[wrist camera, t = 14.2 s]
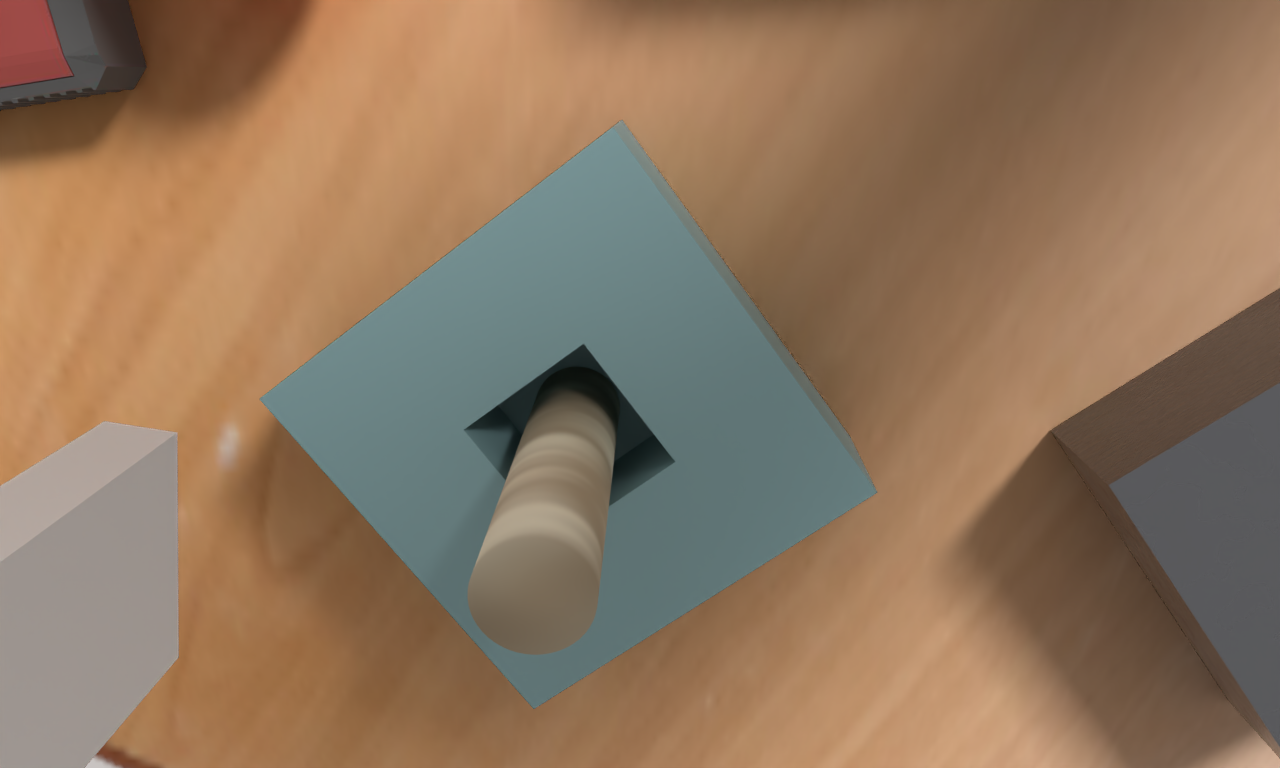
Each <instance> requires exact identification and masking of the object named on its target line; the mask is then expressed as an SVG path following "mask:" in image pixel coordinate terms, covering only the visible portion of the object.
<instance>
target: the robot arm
mask: <svg viewBox="0 0 1280 768" xmlns="http://www.w3.org/2000/svg"><path fill="white" fill-rule="evenodd" d="M178 657H179V633H178V458H177V432H171V431H165V430H158V429H152V428H145V427H139V426H132V425H126V424H120V423H113V422H107V421H104V422H102V423H101V424H99V425H97V426H96V427H94V428H93V429H91V430H89V431H88V432H86V433H85V434H83V435H81V436H80V437H78V438H77V439H75V440H73V441H72V442H70V443H69V444H67V445H65V446H64V447H62V448H60V449H59V450H57V451H56V452H54V453H52V454H51V455H49V456H48V457H46V458H44V459H43V460H41V461H40V462H38V463H36V464H35V465H33V466H32V467H30V468H28V469H27V470H25V471H24V472H22V473H20V474H19V475H17V476H16V477H14V478H12V479H11V480H9V481H7V482H6V483H4V484H3V485H1V486H0V768H85V767H86V765H87V764H88V763H89V762H90V760H91V759H92V758H93V757H94V756H95V755H96V754H97V753H98V751H99V750H100V749H101V748H102V747H103V746H104V744H105V743H106V742H107V741H108V740H109V739H110V737H111V736H112V735H113V734H114V733H115V731H116V730H117V729H118V728H119V727H120V726H121V724H122V723H123V722H124V721H125V720H126V719H127V717H128V716H129V715H130V714H131V713H132V712H133V710H134V709H135V708H136V707H137V706H138V704H139V703H140V702H141V701H142V700H143V699H144V697H145V696H146V695H147V694H148V693H149V692H150V690H151V689H152V688H153V687H154V686H155V685H156V683H157V682H158V681H159V680H160V679H161V677H162V676H163V675H164V674H165V673H166V672H167V670H168V669H169V668H170V667H171V666H172V665H173V663H174V662H175V661H176V660H177V659H178Z"/></svg>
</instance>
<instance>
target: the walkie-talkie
mask: <svg viewBox="0 0 1280 768" xmlns="http://www.w3.org/2000/svg"><path fill="white" fill-rule="evenodd" d="M146 68H147V66H146V63H145V59H144V56H143V52H142V48H141V45H140V41H139V38H138V34H137V31H136V27H135V24H134V20H133V17H132V13H131V10H130V6H129V2H128V0H0V111H1V109H14V108H16V107H26V106H31V105H32V104H45V103H46V102H57V101H61V100H64V99H76V97H88V96H91V95H97V94H106V92H119V91H121V90H132V89H134V88H135V86H136V84H137V83H138V81H139V79H140V78H141V76H142V74H143V73H144V71H145V69H146ZM19 97H20V98H19Z"/></svg>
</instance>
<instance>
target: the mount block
mask: <svg viewBox="0 0 1280 768" xmlns="http://www.w3.org/2000/svg"><path fill="white" fill-rule="evenodd" d="M1051 432H1052V433H1053V435H1054V436H1055V438H1056V439H1057V441H1058V443H1059V444H1060V446H1061V447H1062V449H1063V450H1064V452H1065V453H1066V455H1067V456H1068V458H1069V459H1070V461H1071V462H1072V464H1073V465H1074V467H1075V468H1076V470H1077V471H1078V473H1079V474H1080V476H1081V477H1082V479H1083V480H1084V482H1085V484H1086V485H1087V487H1088V488H1089V490H1090V491H1091V493H1092V494H1093V496H1094V497H1095V499H1096V500H1097V502H1098V503H1099V505H1100V506H1101V508H1102V509H1103V511H1104V512H1105V514H1106V515H1107V517H1108V518H1109V520H1110V521H1111V523H1112V525H1113V526H1114V528H1115V529H1116V531H1117V532H1118V534H1119V535H1120V537H1121V538H1122V540H1123V541H1124V543H1125V544H1126V546H1127V547H1128V549H1129V550H1130V552H1131V553H1132V555H1133V556H1134V558H1135V559H1136V561H1137V562H1138V564H1139V565H1140V567H1141V569H1142V570H1143V572H1144V573H1145V575H1146V576H1147V578H1148V579H1149V581H1150V582H1151V584H1152V585H1153V587H1154V588H1155V590H1156V591H1157V593H1158V594H1159V596H1160V597H1161V599H1162V600H1163V602H1164V603H1165V605H1166V606H1167V608H1168V610H1169V611H1170V613H1171V614H1172V616H1173V617H1174V619H1175V620H1176V622H1177V623H1178V625H1179V626H1180V628H1181V629H1182V631H1183V632H1184V634H1185V635H1186V637H1187V638H1188V640H1189V641H1190V643H1191V644H1192V646H1193V647H1194V649H1195V651H1196V652H1197V654H1198V655H1199V657H1200V658H1201V660H1202V661H1203V663H1204V664H1205V666H1206V667H1207V669H1208V670H1209V672H1210V673H1211V675H1212V676H1213V678H1214V679H1215V681H1216V682H1217V684H1218V685H1219V687H1220V688H1221V690H1222V691H1223V693H1224V695H1225V696H1226V698H1227V699H1228V701H1229V702H1230V703H1231V704H1232V705H1233V706H1234V707H1235V708H1236V710H1237V711H1238V712H1239V713H1240V714H1241V715H1242V716H1243V717H1244V719H1245V720H1246V721H1247V722H1248V723H1249V724H1250V725H1251V726H1252V728H1253V729H1254V730H1255V731H1256V732H1257V733H1258V734H1259V735H1260V737H1261V738H1262V739H1263V740H1264V741H1265V742H1266V743H1267V744H1268V746H1269V747H1270V748H1271V749H1272V750H1273V751H1274V752H1275V753H1276V755H1277V756H1278V757H1279V758H1280V289H1278V290H1276V291H1275V292H1273V293H1272V294H1270V295H1268V296H1267V297H1265V298H1264V299H1262V300H1260V301H1259V302H1257V303H1255V304H1254V305H1252V306H1251V307H1249V308H1247V309H1246V310H1244V311H1243V312H1241V313H1239V314H1238V315H1236V316H1234V317H1233V318H1231V319H1230V320H1228V321H1226V322H1225V323H1223V324H1222V325H1220V326H1218V327H1217V328H1215V329H1214V330H1212V331H1210V332H1209V333H1207V334H1205V335H1204V336H1202V337H1201V338H1199V339H1197V340H1196V341H1194V342H1193V343H1191V344H1189V345H1188V346H1186V347H1184V348H1183V349H1181V350H1180V351H1178V352H1176V353H1175V354H1173V355H1172V356H1170V357H1168V358H1167V359H1165V360H1163V361H1162V362H1160V363H1159V364H1157V365H1155V366H1154V367H1152V368H1151V369H1149V370H1147V371H1146V372H1144V373H1142V374H1141V375H1139V376H1138V377H1136V378H1134V379H1133V380H1131V381H1130V382H1128V383H1126V384H1125V385H1123V386H1121V387H1120V388H1118V389H1117V390H1115V391H1113V392H1112V393H1110V394H1109V395H1107V396H1105V397H1104V398H1102V399H1100V400H1099V401H1097V402H1096V403H1094V404H1092V405H1091V406H1089V407H1088V408H1086V409H1084V410H1083V411H1081V412H1080V413H1078V414H1076V415H1075V416H1073V417H1071V418H1070V419H1068V420H1067V421H1065V422H1063V423H1062V424H1060V425H1059V426H1057V427H1055V428H1054V429H1052V430H1051Z"/></svg>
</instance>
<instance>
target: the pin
mask: <svg viewBox="0 0 1280 768" xmlns="http://www.w3.org/2000/svg"><path fill="white" fill-rule="evenodd" d="M619 413H620V402H619V397H618V394H617V392H616V390H615V388H614V386H613V385H612V384H611V382H610V381H609V380H608V379H607V378H606V377H605V376H603V375H602V374H600V373H599V372H597V371H595V370H592V369H589V368H585V367H568V368H564V369H561V370H559V371H557V372H555V373H553V374H552V375H550V376H549V377H548V378H547V379H546V380H545V381H544V382H543V384H542V385H541V387H540V389H539V391H538V394H537V396H536V399H535V402H534V405H533V407H532V410H531V413H530V416H529V418H528V421H527V424H526V427H525V429H524V432H523V435H522V438H521V440H520V443H519V446H518V449H517V451H516V454H515V457H514V460H513V462H512V465H511V468H510V471H509V473H508V476H507V479H506V482H505V484H504V487H503V490H502V492H501V495H500V498H499V501H498V503H497V506H496V509H495V512H494V514H493V517H492V520H491V523H490V525H489V528H488V531H487V534H486V536H485V539H484V542H483V545H482V547H481V550H480V553H479V556H478V558H477V561H476V564H475V567H474V569H473V572H472V575H471V578H470V581H469V585H468V605H469V609H470V612H471V615H472V617H473V619H474V621H475V622H476V624H477V626H478V627H479V628H480V630H481V631H482V632H483V633H484V634H485V635H486V636H487V637H488V638H489V639H491V640H492V641H493V642H495V643H496V644H498V645H500V646H502V647H504V648H506V649H508V650H511V651H514V652H518V653H523V654H531V655H541V654H549V653H553V652H557V651H560V650H562V649H565V648H567V647H569V646H570V645H572V644H574V643H575V642H576V641H578V640H579V639H580V638H581V637H582V636H583V635H584V634H585V633H586V632H587V630H588V629H589V628H590V626H591V624H592V622H593V620H594V617H595V615H596V610H597V605H598V596H599V587H600V579H601V570H602V561H603V553H604V544H605V535H606V526H607V518H608V509H609V500H610V492H611V483H612V474H613V465H614V457H615V448H616V439H617V431H618V422H619Z"/></svg>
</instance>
